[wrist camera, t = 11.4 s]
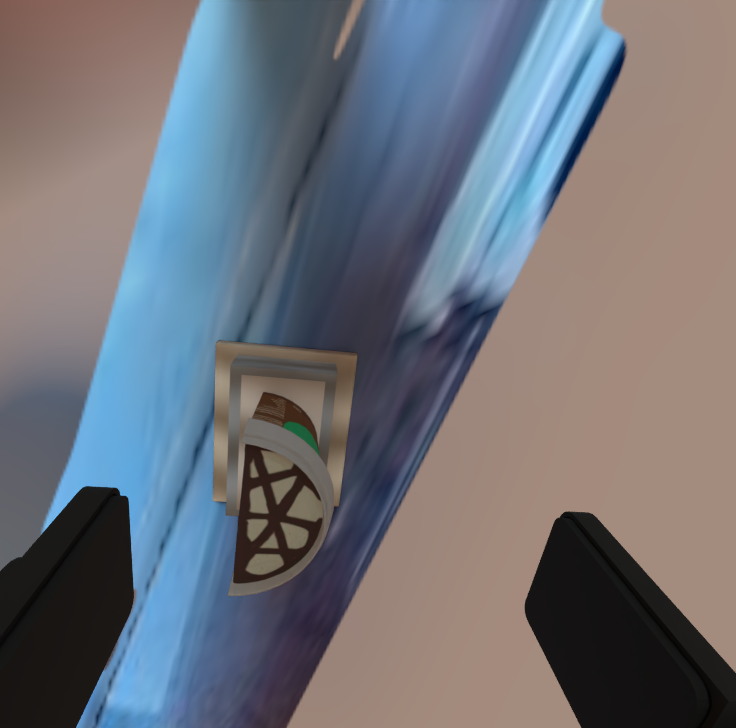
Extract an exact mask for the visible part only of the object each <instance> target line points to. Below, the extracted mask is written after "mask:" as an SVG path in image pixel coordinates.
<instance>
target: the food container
mask: <svg viewBox="0 0 736 728" xmlns="http://www.w3.org/2000/svg"><path fill="white" fill-rule="evenodd" d="M241 443H243V444H245V449H244V450H245V458H244V469H243V479H242V489H241V499H240V508H239V517H238V531H237V542H236V552H235V563H234V571H233V575H232V579H231V584H230V588H229V592H228V596H243V595H251V594H256V593H260V592H264V591H268V590H270V589H273V588H275V587H278V586H280V585H282V584H284V583H285V582H287V581H289V580H291V579H292V578H293V577H295V576H296V575H297V574H299V573H300V572H301V571H302V570H303V569H304V568H305V567H306V566H307V565H308V564H309V563H310V562H311V560H312V559H313V558H314V556H315V555H316V553H317V552H318V550H319V549H320V547H321V546H322V544H323V542H324V539H325V537H326V535H327V532H328V528H329V525H330V522H331V518H332V514H333V510H334V489H333V483H332V480H331V477H330V474H329V472H328V470H327V468H326V466H325V464H324V462H323V461H322V459H321V458H320V455H319V447H318V439H317V433H316V430H315V426H314V424H313V423H312V421H311V419H310V417H309V416H308V415H307V414H306V412H305V411H304V410H303V409H302V408H301V407H299V406H298V405H297V404H295V403H294V402H292V401H291V400H289V399H287V398H285V397H283V396H280V395H277V394H273V393H268V392H263V394H262V396H261V398H260V401H259V403H258V405H257V407H256V409H255V412H254V414H253V416H252V418H248V420H247V424H246V427H245V430H244V436H243V439H242V442H241Z"/></svg>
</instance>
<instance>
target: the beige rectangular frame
mask: <svg viewBox="0 0 736 728" xmlns="http://www.w3.org/2000/svg"><path fill="white" fill-rule="evenodd" d="M357 357H358V356H357V353H350V352H339V351H329V350H318V349H307V348H296V347H286V346H275V345H264V344H253V343H243V342H232V341H221V340H218V342H217V343H216V362H215V417H214V473H213V501H222V502H226V516H239V508H240V499H241V489H242V479H243V469H244V458H245V450H244V449H245V444H243V443H241V442H242V439H243V436H244V430H245V427H246V424H247V420H248V418H252V416H253V414H254V412H255V409H256V407H257V405H258V403H259V401H260V398H261V396H262V394H263V392H268V393H273V394H277V395H280V396H283V397H285V398H287V399H289V400H291V401H292V402H294V403H295V404H297V405H298V406H299V407H301V408H302V409H303V410H304V411H305V412H306V414H307V415H308V416H309V417H310V419H311V421H312V423H313V424H314V426H315V430H316V433H317V439H318V447H319V455H320V458H321V459H322V461H323V462H324V464H325V466H326V468H327V470H328V472H329V474H330V477H331V480H332V483H333V489H334V506H339V501H340V493H341V485H342V477H343V469H344V461H345V453H346V445H347V437H348V429H349V421H350V413H351V405H352V397H353V389H354V381H355V373H356V365H357Z"/></svg>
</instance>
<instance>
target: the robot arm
mask: <svg viewBox="0 0 736 728" xmlns="http://www.w3.org/2000/svg"><path fill="white" fill-rule="evenodd" d="M133 599H134V590H133V572H132V554H131V536H130V518H129V501H128V498H127V496H120V492H119V490H118V489H117V488H109V487H90V486H86V487H83V488H82V489H81V490H80V491H79V492H78V493H77V494H76V495H75V496H74V498H73V499H72V500H71V501H70V502H69V503H68V504H67V506H66V507H65V508H64V509H63V510H62V511H61V513H60V514H59V515H58V516H57V517H56V518H55V520H54V521H53V522H52V523H51V524H50V525H49V526H48V528H47V529H46V530H45V531H44V532H43V533H42V535H41V536H40V537H39V538H38V539H37V540H36V542H35V543H34V544H33V545H32V546H31V547H30V548H29V550H28V551H27V552H26V553H25V554H24V555H23V557H18V558H16V559H14V560H13V561H11V562H9V563H8V564H7V565H6V566H5V567H4V568H3V569H2V570H1V571H0V728H76V726H77V724H78V722H79V720H80V718H81V716H82V714H83V712H84V710H85V707H86V705H87V703H88V701H89V699H90V697H91V695H92V693H93V691H94V689H95V686H96V684H97V682H98V680H99V678H100V676H101V674H102V672H103V670H104V667H105V665H106V663H107V661H108V659H109V657H110V655H111V652H112V651H113V649H114V646H115V644H116V642H117V640H118V638H119V636H120V634H121V632H122V630H123V627H124V625H125V623H126V621H127V619H128V617H129V614H130V612H131V609H132V605H133ZM525 614H526V618H527V620H528V622H529V624H530V626H531V628H532V630H533V632H534V634H535V636H536V638H537V640H538V642H539V644H540V646H541V648H542V650H543V652H544V654H545V656H546V658H547V660H548V662H549V664H550V666H551V668H552V670H553V672H554V674H555V676H556V678H557V680H558V682H559V684H560V686H561V688H562V690H563V692H564V694H565V696H566V698H567V700H568V702H569V704H570V706H571V708H572V710H573V712H574V714H575V716H576V718H577V720H578V722H579V724H580V726H581V728H736V673H735V672H734V671H733V669H731V667H730V666H729V665H728V664H727V663H726V662H725V661H724V659H723V658H722V657H721V656H720V655H719V654H718V653H717V652H716V651H715V649H714V648H713V647H712V646H711V645H710V644H709V643H708V642H707V641H706V639H705V638H704V637H703V636H702V635H701V634H700V633H699V632H698V630H697V629H696V628H695V627H694V626H693V625H692V624H691V623H690V621H689V620H688V619H687V618H686V617H685V616H684V615H683V614H682V613H681V611H680V610H679V609H678V608H677V607H676V606H675V605H674V604H673V603H672V601H671V600H670V599H669V598H668V597H667V596H666V595H665V594H664V593H663V591H662V590H661V589H660V588H659V587H658V586H657V585H656V584H655V582H654V581H653V580H652V579H651V578H650V577H649V576H648V575H647V574H646V572H645V571H644V570H643V569H642V568H641V567H640V566H639V565H638V563H637V562H636V561H635V560H634V559H633V558H632V557H631V556H630V554H629V553H628V552H627V551H626V550H625V549H624V548H623V547H622V546H621V544H620V543H619V542H618V541H617V540H616V539H615V538H614V537H613V536H612V534H611V533H610V532H609V531H608V530H607V529H606V528H605V527H604V525H603V524H602V523H601V522H600V521H599V520H598V519H597V518H596V517H595V516H594V515H593V514H591V513H585V512H564V513H563V514H562V515H561V517H560V518H557V519H556V520H555V522H554V524H553V527H552V530H551V532H550V535H549V538H548V541H547V544H546V546H545V549H544V552H543V554H542V557H541V560H540V563H539V565H538V568H537V571H536V574H535V577H534V579H533V582H532V585H531V587H530V591H529V593H528V596H527V598H526V601H525Z"/></svg>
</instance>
